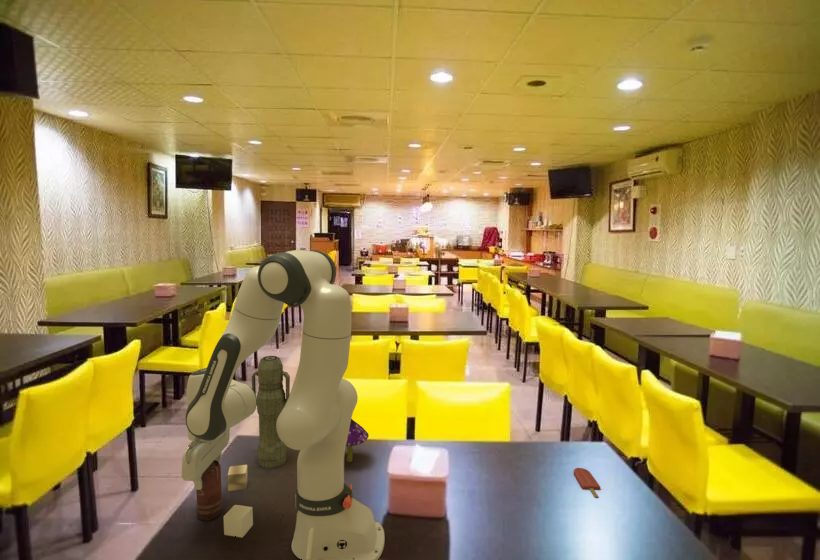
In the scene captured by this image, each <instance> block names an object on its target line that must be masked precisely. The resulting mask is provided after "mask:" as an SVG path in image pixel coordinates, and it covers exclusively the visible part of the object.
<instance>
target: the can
mask: <svg viewBox="0 0 820 560" xmlns="http://www.w3.org/2000/svg"><path fill="white" fill-rule="evenodd" d="M221 468H222V467H221V464H219V462H218V461H216V460H214V461H213V462H212V463H211V465H210V466H209V467H208V468H207V469H206V470H205V471H204V473H203V474H202V477H201V479H202V480H204V486H203V487H202V489H201V490H196V489H195V491H196V510H197V517H198V518H199V520H201V521H204V522H205V521H212V520H214V519H216V518H218V517H219V516H220V515H221V514H222V511H223V497H222V496H223V494H222V474H221V473H222V470H221Z"/></svg>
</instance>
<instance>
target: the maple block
mask: <svg viewBox="0 0 820 560" xmlns="http://www.w3.org/2000/svg"><path fill="white" fill-rule="evenodd" d="M248 472H249V470H248V464H242V465H241V464H240V465H231V466H229V468H228V473H227V491H228V492H232V491H239V490H240V491H241V490H246V489H247V486H248V481H249V479H248V478H249V477H248V476H249V475H248V474H249V473H248Z"/></svg>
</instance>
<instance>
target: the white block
mask: <svg viewBox="0 0 820 560" xmlns="http://www.w3.org/2000/svg"><path fill="white" fill-rule="evenodd" d="M253 513H254V511H253V506H247V505H241V504H239V505H238V504H234V505H233V506H232V507H230V509H229V510H228V511H227V512H226V513H225V515H223V533H224V534H223V535H224V536H229V537H235V536H236V537H235V538H242V539H243V537H244V536H245V535H246V534H247V533H248V532H249V530H250V529H251V528H252V527H253V525H254V518H253V517H254V515H253Z"/></svg>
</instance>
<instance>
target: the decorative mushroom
mask: <svg viewBox="0 0 820 560" xmlns="http://www.w3.org/2000/svg"><path fill="white" fill-rule="evenodd" d="M369 437H370V436H369V433H368V432H367V430H366V429H365V428H364V427H363V426H361V425H360V424H359V423H358V422H356V421H355V420H354V419H353V418H351V422H350V428H349V433H348V438H347V443H346V448H347V458H346V462H347V463H351V462H353V455H354V454H353V451H354V450H353V447H354V446H359V445H361V444H363V443H364V442H366V441H367V440H368V438H369Z"/></svg>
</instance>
